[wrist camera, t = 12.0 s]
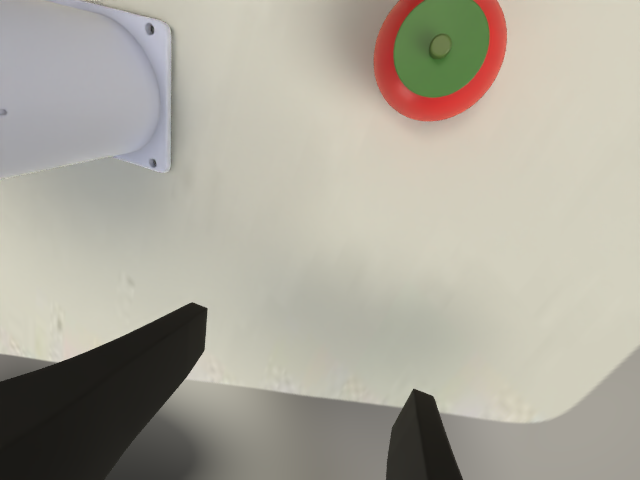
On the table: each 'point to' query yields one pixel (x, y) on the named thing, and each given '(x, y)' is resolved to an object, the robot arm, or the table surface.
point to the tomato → (439, 55)
